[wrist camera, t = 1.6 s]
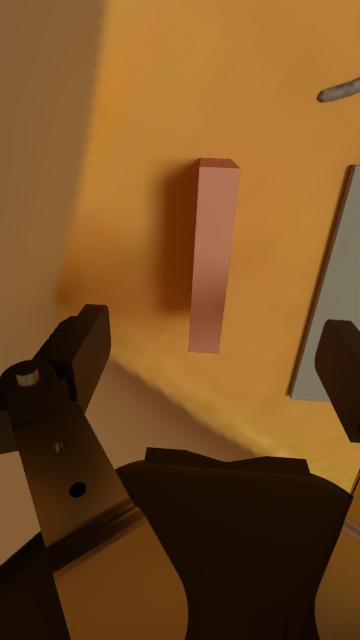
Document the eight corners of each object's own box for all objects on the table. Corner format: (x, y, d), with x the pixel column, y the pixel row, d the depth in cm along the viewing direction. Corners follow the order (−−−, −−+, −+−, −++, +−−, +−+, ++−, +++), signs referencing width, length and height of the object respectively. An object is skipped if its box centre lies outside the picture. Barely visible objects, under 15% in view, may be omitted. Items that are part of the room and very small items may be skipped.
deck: (200, 157, 19) (199, 166, 14) (230, 159, 19) (240, 168, 14) (191, 305, 24) (188, 351, 19) (215, 306, 24) (218, 353, 19)
